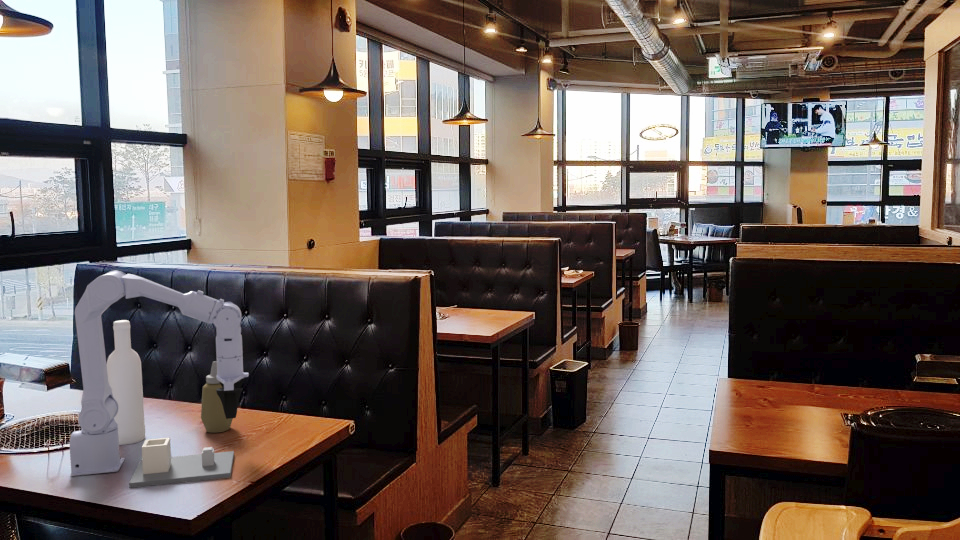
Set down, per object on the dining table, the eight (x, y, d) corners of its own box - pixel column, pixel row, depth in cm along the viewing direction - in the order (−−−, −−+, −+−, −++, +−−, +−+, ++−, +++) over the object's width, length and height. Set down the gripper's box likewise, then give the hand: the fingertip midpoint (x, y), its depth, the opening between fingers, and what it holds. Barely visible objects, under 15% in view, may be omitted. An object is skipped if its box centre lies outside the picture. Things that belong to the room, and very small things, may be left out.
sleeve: (143, 474, 157) (141, 447, 157) (147, 466, 162) (145, 439, 161) (168, 471, 159) (166, 444, 158) (171, 463, 163) (170, 437, 163)
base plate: (129, 487, 153) (128, 466, 152) (141, 464, 166) (139, 444, 166) (230, 477, 158) (229, 457, 157) (233, 455, 171) (233, 436, 171)
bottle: (110, 437, 184) (103, 320, 181) (144, 432, 188) (138, 317, 185) (110, 447, 177) (103, 325, 174) (146, 442, 181) (139, 322, 178)
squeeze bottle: (239, 425, 194) (236, 358, 192) (226, 435, 186) (223, 365, 184) (210, 424, 195) (207, 358, 193) (195, 434, 187) (192, 365, 185)
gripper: (246, 361, 163) (248, 420, 164) (248, 348, 177) (251, 403, 178) (212, 363, 161) (215, 423, 162) (218, 350, 175) (220, 405, 176)
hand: (232, 413), depth 170 cm, fingers open, 7 cm apart
